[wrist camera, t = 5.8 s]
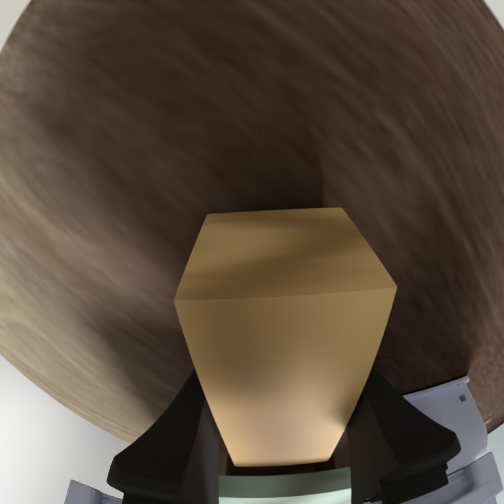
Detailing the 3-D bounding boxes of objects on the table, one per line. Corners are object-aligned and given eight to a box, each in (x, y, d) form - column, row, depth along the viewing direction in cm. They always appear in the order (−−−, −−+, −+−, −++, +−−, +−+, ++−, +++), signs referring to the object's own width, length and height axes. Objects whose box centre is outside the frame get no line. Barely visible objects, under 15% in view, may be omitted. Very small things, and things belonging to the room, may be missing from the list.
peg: (341, 207, 10) (397, 287, 6) (317, 391, 16) (328, 460, 12) (207, 214, 10) (173, 300, 6) (238, 395, 16) (235, 466, 12)
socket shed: (392, 374, 17) (423, 467, 10) (356, 439, 23) (368, 502, 16) (159, 387, 18) (136, 484, 11) (196, 447, 24) (189, 511, 17)
